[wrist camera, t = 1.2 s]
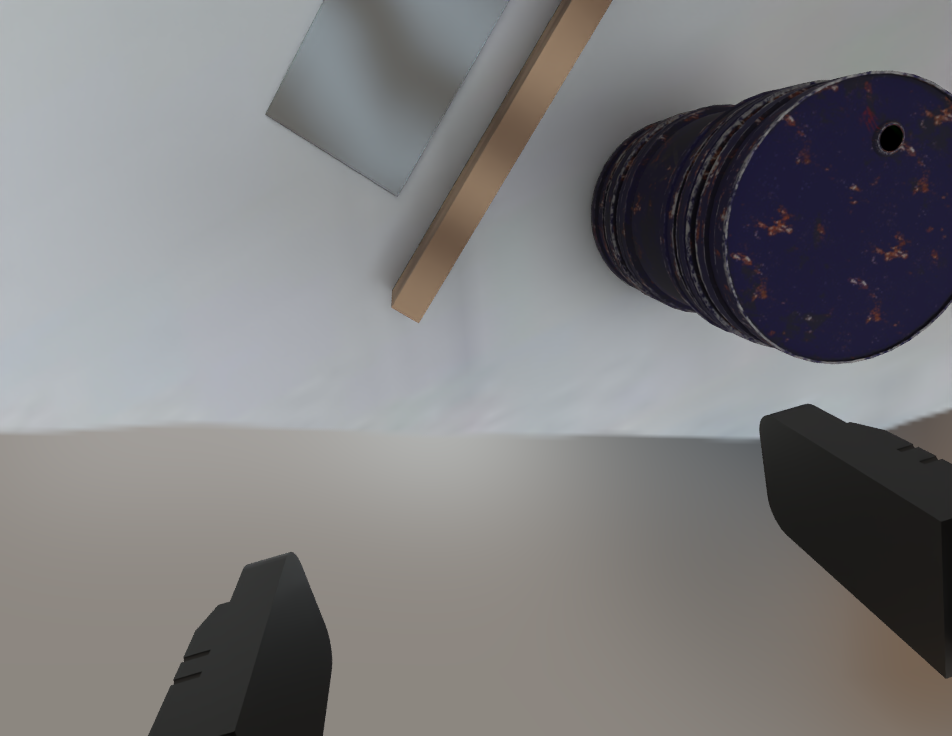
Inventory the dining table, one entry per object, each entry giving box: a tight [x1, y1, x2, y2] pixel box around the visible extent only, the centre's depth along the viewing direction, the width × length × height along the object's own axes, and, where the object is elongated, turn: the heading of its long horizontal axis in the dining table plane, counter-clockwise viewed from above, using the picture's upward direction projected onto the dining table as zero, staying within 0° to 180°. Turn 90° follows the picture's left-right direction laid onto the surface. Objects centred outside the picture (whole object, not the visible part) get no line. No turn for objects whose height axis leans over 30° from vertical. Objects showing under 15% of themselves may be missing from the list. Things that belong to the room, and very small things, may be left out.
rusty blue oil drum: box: [591, 71, 952, 364], centre depth 28 cm, size 10×10×15 cm
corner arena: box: [266, 0, 612, 323], centre depth 30 cm, size 20×12×5 cm, turn 148°
